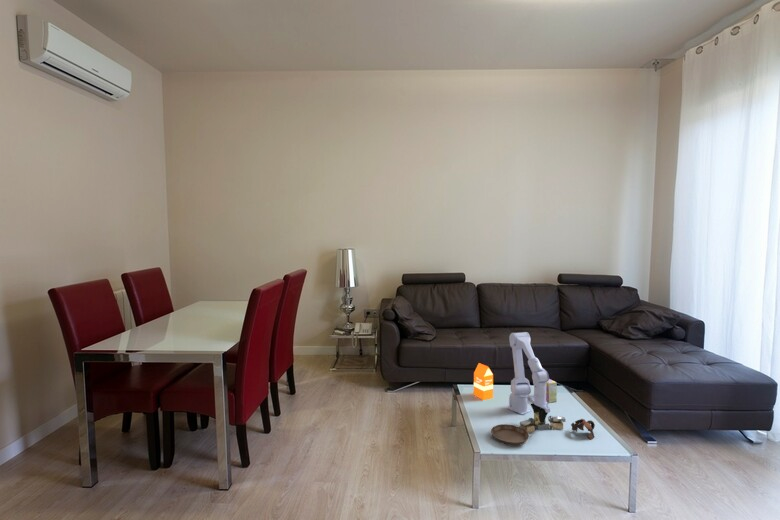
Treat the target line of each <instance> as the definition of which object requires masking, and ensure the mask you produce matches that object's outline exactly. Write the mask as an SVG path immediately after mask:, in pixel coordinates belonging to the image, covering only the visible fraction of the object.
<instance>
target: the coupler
mask: <svg viewBox="0 0 780 520" xmlns="http://www.w3.org/2000/svg"><path fill="white" fill-rule="evenodd" d="M533 419H534V420H535V423H534V424H535V425H536V426H537V425H539V424H546V421H545V422H542V423H541V422H540V419H539V412H534V411H533Z"/></svg>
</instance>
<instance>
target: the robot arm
mask: <svg viewBox="0 0 780 520" xmlns="http://www.w3.org/2000/svg"><path fill="white" fill-rule="evenodd" d="M508 337H509V346H510V348H511V349H512V359H513V369H514V370H513V371H514V377H513V379H511V381H510V392H511V393H510V394H509V398H508V408H507V409H509V410H511V411H513V412H515V413H517V414H520V415H526V414H527V413H529V412H531V409H529V408H528V397H530V400H529V401H530V402H532V403H530V406H531V408H532V411H533V413H534V412H539V419H540V422H541V423H542V422H545V423H546V418H547V417H548V416H547V415H548V414H549V413H551V408H550V407H549V405H548V403H549V402H547V401H546V382H548V380H549V379H550V376H549V373H548V371H547V370H546V369H545V368H544V367H542V364H541V362H540V360H539V358H538V357H536V356H535V354H534V351H533V348H532V346H531V345H532V344H531V342H532V341H531V339H532V338H531V336H530V334H529V332H527V331H523V332H511V333H510V334H509V336H508ZM523 352H524V354H525V356H526V357H527V359H528V360H527V364H528V366H529V368H530V371H531V373H532V374H531V378H532V384H533V387H534V388H533V389H534V390H533V396H529V395H530V394H531V393H532V386H531V384H530V380H529V379H528V378H526V377H525V367H524V359H523Z"/></svg>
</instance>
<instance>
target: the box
mask: <svg viewBox="0 0 780 520" xmlns="http://www.w3.org/2000/svg"><path fill="white" fill-rule="evenodd" d="M557 388H558V386H557V381H555V380H552V379H550V378H549V380H548V382H546V402H548V403H549V404H551V403H555V402H557V399H558V398H557V394H558V391H557Z"/></svg>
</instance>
